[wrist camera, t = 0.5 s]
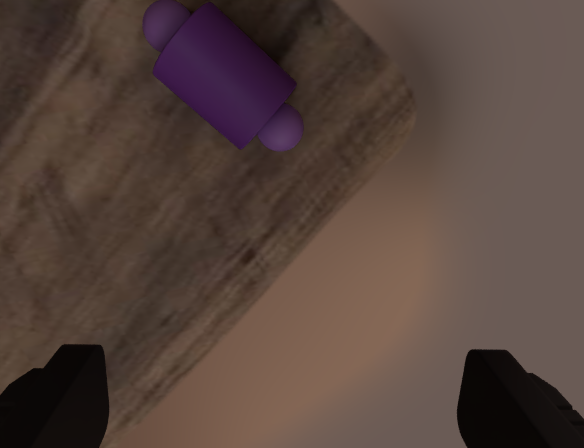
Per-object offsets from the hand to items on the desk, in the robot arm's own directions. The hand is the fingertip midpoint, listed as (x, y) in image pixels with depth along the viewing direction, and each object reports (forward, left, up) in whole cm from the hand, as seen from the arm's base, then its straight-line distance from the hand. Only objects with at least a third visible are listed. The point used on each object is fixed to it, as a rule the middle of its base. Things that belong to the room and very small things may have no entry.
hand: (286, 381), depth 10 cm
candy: (-6, -3, -15) cm, 17 cm away
